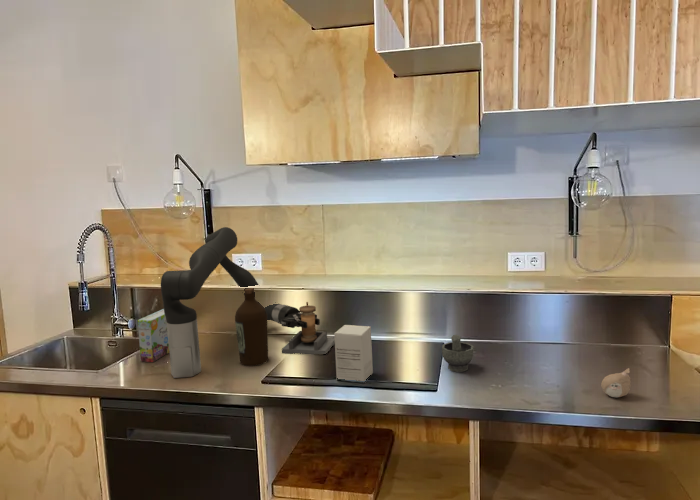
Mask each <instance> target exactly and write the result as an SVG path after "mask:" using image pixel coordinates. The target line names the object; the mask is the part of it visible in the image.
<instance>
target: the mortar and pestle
mask: <svg viewBox="0 0 700 500" xmlns="http://www.w3.org/2000/svg"><path fill="white" fill-rule="evenodd" d="M461 339H462V337H461V336H460V335H459V334H453V335H452V336H451V341H450V342H447V343H443V344H442V345H441V354H442V359H444V361H445V362H446V363H447V364H448V366H447V369H448V370H449V371H451V372H456V373H460V372H465V371H468V370H469V366H468V365H469V364H470V363H471V361H472V360H473V356H474V350H475V349H474V345H473V344H471V343H468V342H463V341H461Z"/></svg>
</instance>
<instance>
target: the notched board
mask: <svg viewBox="0 0 700 500" xmlns="http://www.w3.org/2000/svg"><path fill="white" fill-rule="evenodd" d="M314 335H317V339H316V340H315V341H314V342H310V343H306V342H302V341H301V336H303V335H302V330H299V331H298V332H297V333H296V334H295V335H294V336H292V338H291V339H289V340H288V343H287V344H286V345H284V346H283V347H282V348H281V354H287V355H288V354H290V355H291V354H293V353H294V354H293V355H296V354H295V353H300V354H299V355H313V354H326V353H327V352H328V351H329V352H330V350H331V349H332V348H331V347H332V346H333V347H334V346H335V337H328V331H318V330H316V334H314ZM330 348H331V349H330ZM301 353H302V354H301ZM327 354H328V353H327ZM327 354H326V355H327Z"/></svg>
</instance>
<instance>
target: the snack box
mask: <svg viewBox="0 0 700 500" xmlns="http://www.w3.org/2000/svg"><path fill="white" fill-rule="evenodd" d="M137 328H138V330H137V331H138V342H139V355H140V362H142V363H143V362H144V363H154V362H156V361H157V360H159V359H161V358H163V357H164V356H166V355H168V354H169V344H168V333H167V322H166V316H165V313H164V308H162V309H160V310H158V311H155V312H154V313H151V314H148V315H146V316H144V317H141V318H140V319H137Z"/></svg>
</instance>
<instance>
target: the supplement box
mask: <svg viewBox="0 0 700 500" xmlns="http://www.w3.org/2000/svg"><path fill="white" fill-rule="evenodd" d="M371 327H372V326H369V325H367V326H366V325H353V324H352V325H351V324H344V325H342V327H340V328H339V329H338V330H337V331H335V332H334V337H333V338H335V344H334V350H335V351H334V354H335V372H336V373H335V374H336V379H337V378H338V379H345V380H356V381H365V380H366V379H367V378H368V377H369V376H370V375H371V376H372V375H373V374H374V370H373V369H374V368H373V349H372V345H373V344H372V328H371ZM371 376H370V377H371ZM370 377H369V378H370ZM369 378H368V379H369ZM368 379H367V380H368Z"/></svg>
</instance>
